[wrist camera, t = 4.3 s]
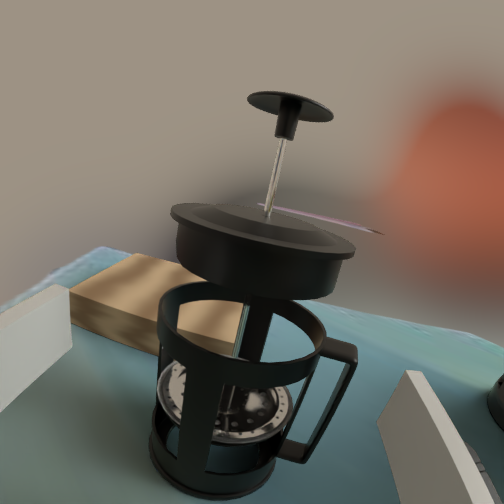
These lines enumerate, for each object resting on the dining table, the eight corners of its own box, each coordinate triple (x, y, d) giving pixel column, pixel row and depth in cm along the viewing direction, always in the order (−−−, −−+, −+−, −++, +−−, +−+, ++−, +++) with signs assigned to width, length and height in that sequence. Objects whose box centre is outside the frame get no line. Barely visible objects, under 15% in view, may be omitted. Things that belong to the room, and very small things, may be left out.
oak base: (254, 308, 46) (260, 283, 45) (237, 378, 28) (245, 346, 27) (134, 276, 47) (136, 252, 46) (68, 321, 29) (67, 290, 28)
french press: (116, 455, 15) (142, 61, 10) (178, 391, 24) (226, 111, 19) (278, 526, 13) (454, 104, 7) (305, 437, 21) (404, 148, 16)
